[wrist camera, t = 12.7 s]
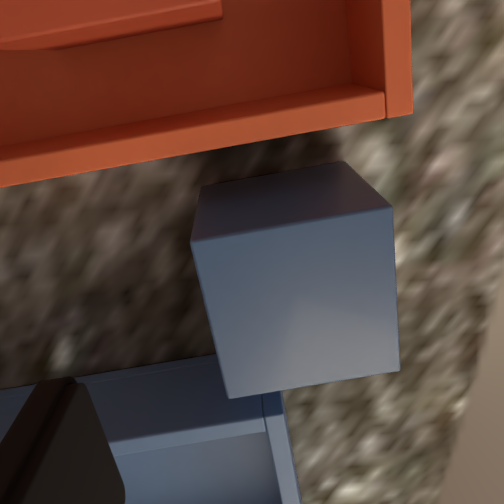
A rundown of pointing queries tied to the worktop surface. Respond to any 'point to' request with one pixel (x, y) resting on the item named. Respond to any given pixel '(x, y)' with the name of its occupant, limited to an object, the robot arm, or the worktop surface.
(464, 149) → the worktop surface
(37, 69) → the terracotta bin
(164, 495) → the blue bin
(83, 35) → the terracotta block
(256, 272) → the blue cubic block piece
